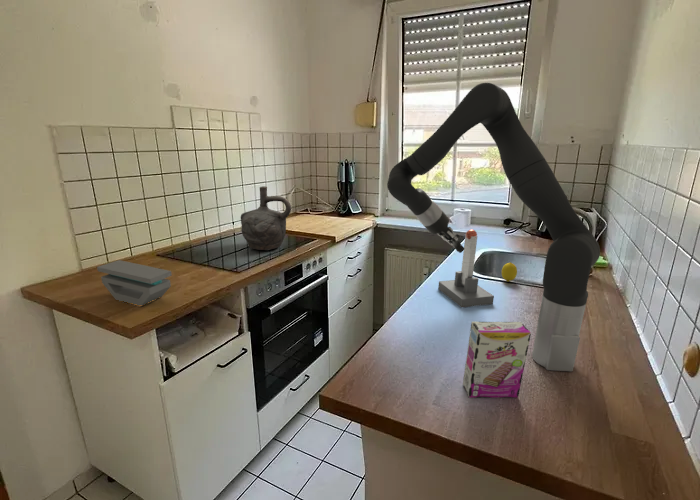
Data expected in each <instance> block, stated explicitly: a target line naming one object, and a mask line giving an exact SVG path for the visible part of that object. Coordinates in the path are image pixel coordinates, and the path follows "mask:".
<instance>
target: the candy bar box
mask: <svg viewBox="0 0 700 500" xmlns="http://www.w3.org/2000/svg"><path fill="white" fill-rule="evenodd" d="M470 324H471V325H470V329H469V330H470V331H469V338H468V342H467V343H468V344H467V352H466V358H465V366H464V371H463V372H464V373H463V380H462V386H463V388H464V390H465V392H466V394H467V396H468V398H469V399H471V398H472V399H473V398H475V399H476V398H478V399H481V398H484V399H485V398H486V399H487V398H488V399H489V398H495V399H497V398H503V399H505V398H508V399H509V398H514V399H515V398H519V394H520V389H521V385H522V381H523V374H524V370H525V365H526V360H527V354H528V351H529V350H528V349H529V346H530V341H531V335H532V332H531V331H530V330H529V328H527V327H526V325H524V324H523V323H522V321H471V323H470Z"/></svg>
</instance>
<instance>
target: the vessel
mask: <svg viewBox="0 0 700 500" xmlns="http://www.w3.org/2000/svg"><path fill="white" fill-rule="evenodd" d="M259 201H260V202H259V206H258V208H256V209H252V210H248V211H245V212H243V213H241V215H240V223H241V225H240V226H241V228H240V230H241V234H242V236H243V238H244V239H245V241H246V243H247V245H248V247H249V248H250V249H252V250H257V251H270V250H274V249H277V248H279V247H281V246H282V244H283V243H284V240H285V237H286V230H287V217H289V215H290V214H291V212H292V205H291V202H290V201H289V200H288V199H287V198H286V197H284V196H282V195H271V196H270V195H269V196H268V186H260V187H259ZM271 202H281V203H283V204H284V205H285V210H284V211H283V212H280V211H278V210H274V209H271V208H269V207H268V203H271Z"/></svg>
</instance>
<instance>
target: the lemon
mask: <svg viewBox="0 0 700 500" xmlns="http://www.w3.org/2000/svg"><path fill="white" fill-rule="evenodd" d="M517 274H518V269H517V266H516V265H515V264H514V263H512V262H510V261H509V262H508V263H505V264H503V266H502V269H501V277H502V278H503V279H504V280H505V281H506V282H510V281H513V280H515V279H516V277H517Z"/></svg>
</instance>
